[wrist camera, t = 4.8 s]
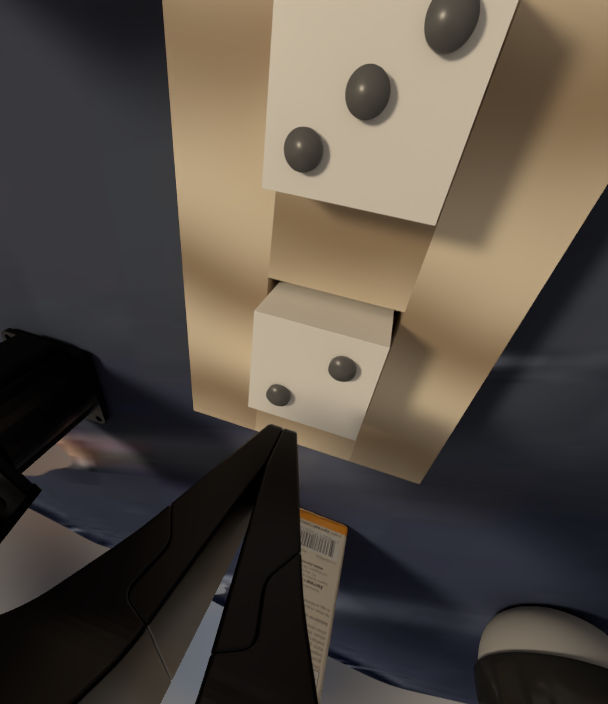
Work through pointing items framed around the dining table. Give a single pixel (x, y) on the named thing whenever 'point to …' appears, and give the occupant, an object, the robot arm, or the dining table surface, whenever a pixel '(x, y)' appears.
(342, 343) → the button two dots
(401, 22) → the button three dots
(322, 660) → the supplement box
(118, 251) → the dining table surface
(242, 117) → the button panel
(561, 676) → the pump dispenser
